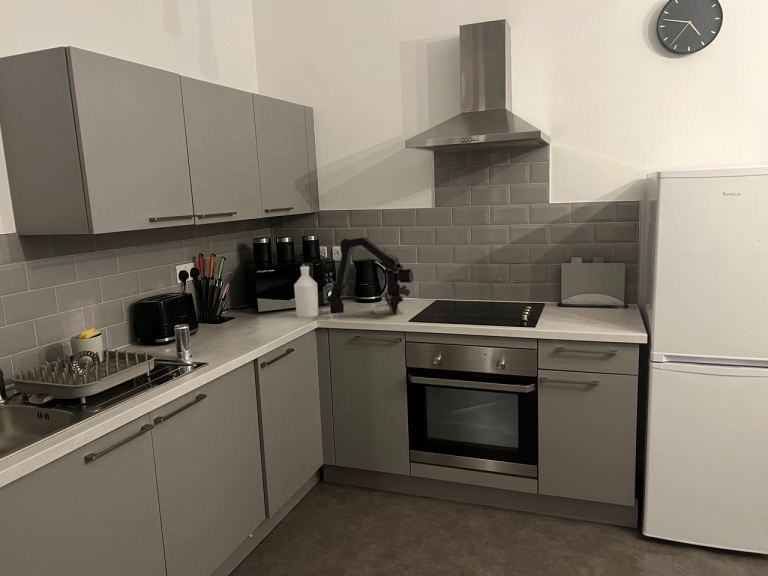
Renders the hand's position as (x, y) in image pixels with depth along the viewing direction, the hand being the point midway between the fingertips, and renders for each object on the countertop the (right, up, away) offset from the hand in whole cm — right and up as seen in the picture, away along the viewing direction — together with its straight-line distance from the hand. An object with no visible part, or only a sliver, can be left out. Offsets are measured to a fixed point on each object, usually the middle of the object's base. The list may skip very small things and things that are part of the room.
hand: (393, 313), depth 303 cm
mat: (-8, -1, +6) cm, 10 cm away
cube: (0, -1, 0) cm, 1 cm away
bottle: (-44, -2, +11) cm, 46 cm away
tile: (-10, +1, +5) cm, 11 cm away
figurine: (-1, +2, +24) cm, 24 cm away
